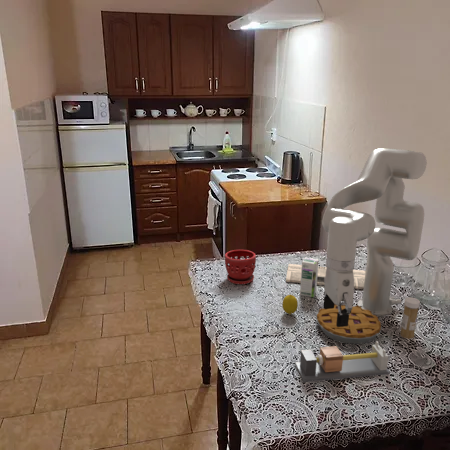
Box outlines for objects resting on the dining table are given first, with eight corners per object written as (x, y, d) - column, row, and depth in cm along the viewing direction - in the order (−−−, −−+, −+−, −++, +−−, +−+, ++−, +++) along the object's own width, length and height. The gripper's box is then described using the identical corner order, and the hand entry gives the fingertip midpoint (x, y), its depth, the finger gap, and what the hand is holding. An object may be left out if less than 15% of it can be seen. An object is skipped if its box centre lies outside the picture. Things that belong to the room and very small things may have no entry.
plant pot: (260, 278, 186) (261, 252, 182) (245, 289, 176) (246, 262, 172) (234, 271, 193) (235, 246, 189) (218, 281, 182) (218, 255, 178)
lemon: (296, 319, 154) (298, 299, 151) (281, 317, 155) (282, 297, 152) (297, 311, 159) (298, 292, 156) (282, 309, 160) (283, 290, 157)
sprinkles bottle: (414, 340, 141) (420, 304, 137) (400, 338, 143) (405, 302, 138) (413, 333, 145) (419, 297, 141) (399, 331, 147) (404, 295, 142)
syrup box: (299, 295, 171) (301, 261, 167) (302, 289, 176) (304, 256, 172) (313, 297, 169) (316, 264, 164) (316, 291, 174) (319, 258, 170)
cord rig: (376, 357, 132) (379, 338, 130) (389, 374, 125) (392, 353, 123) (295, 364, 129) (296, 344, 126) (303, 382, 121) (305, 361, 119)
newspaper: (285, 283, 182) (286, 277, 182) (289, 265, 200) (289, 260, 200) (376, 292, 175) (377, 286, 174) (371, 273, 193) (372, 267, 192)
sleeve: (334, 360, 128) (336, 345, 127) (341, 370, 124) (343, 356, 122) (319, 361, 128) (320, 347, 126) (325, 372, 123) (326, 357, 121)
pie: (308, 313, 158) (309, 301, 156) (366, 312, 159) (367, 300, 158) (325, 348, 137) (326, 335, 135) (391, 346, 138) (393, 333, 137)
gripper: (367, 274, 109) (360, 332, 115) (340, 249, 126) (335, 301, 131) (339, 276, 108) (334, 335, 114) (315, 251, 125) (312, 303, 130)
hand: (335, 316), depth 123 cm, fingers open, 9 cm apart
